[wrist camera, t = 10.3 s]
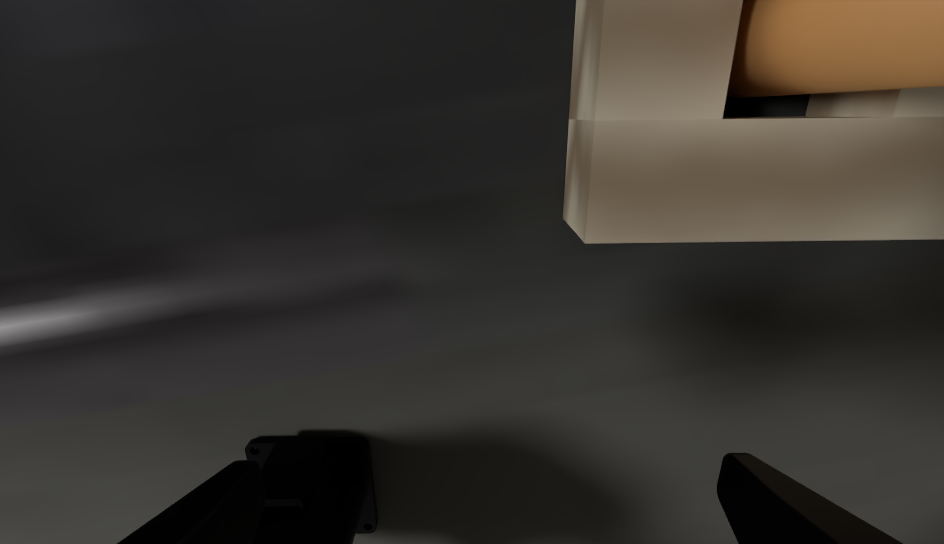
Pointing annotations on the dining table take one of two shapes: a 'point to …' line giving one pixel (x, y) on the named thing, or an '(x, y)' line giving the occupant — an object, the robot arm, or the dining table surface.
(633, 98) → the socket block
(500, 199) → the dining table surface
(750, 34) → the peg
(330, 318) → the dining table surface
